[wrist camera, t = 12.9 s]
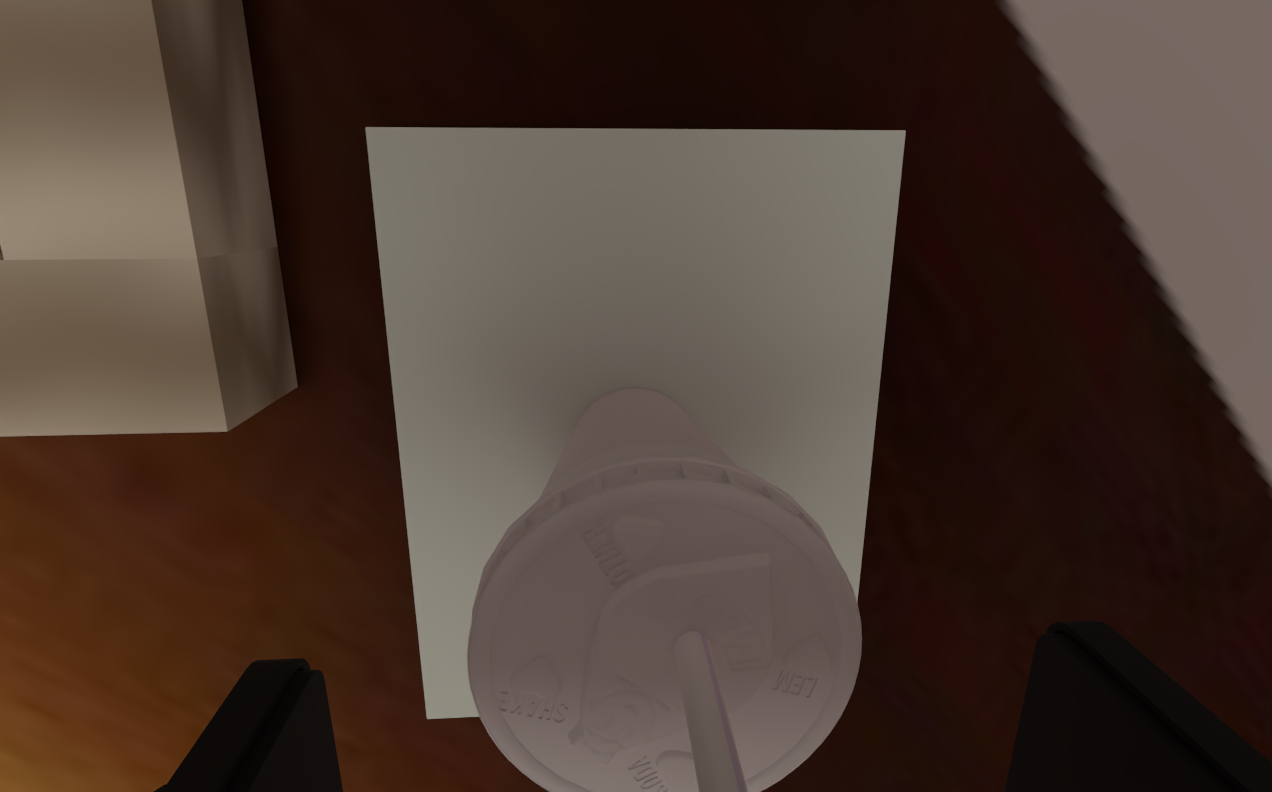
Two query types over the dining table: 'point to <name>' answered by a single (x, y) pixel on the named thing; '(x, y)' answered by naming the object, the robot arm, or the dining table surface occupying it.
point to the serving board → (623, 322)
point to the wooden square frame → (134, 222)
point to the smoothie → (660, 617)
